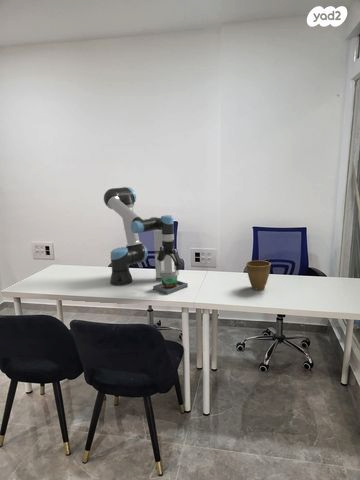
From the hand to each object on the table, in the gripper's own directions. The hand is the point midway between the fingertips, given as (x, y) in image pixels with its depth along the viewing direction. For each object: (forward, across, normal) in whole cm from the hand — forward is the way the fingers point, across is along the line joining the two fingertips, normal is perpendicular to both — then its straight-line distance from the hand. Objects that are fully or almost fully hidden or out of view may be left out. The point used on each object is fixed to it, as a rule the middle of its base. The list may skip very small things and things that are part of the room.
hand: (169, 273), depth 218 cm
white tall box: (+11, -18, +12) cm, 24 cm away
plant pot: (+10, +42, +36) cm, 56 cm away
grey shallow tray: (+10, 0, 0) cm, 10 cm away
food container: (+10, +1, 0) cm, 10 cm away
